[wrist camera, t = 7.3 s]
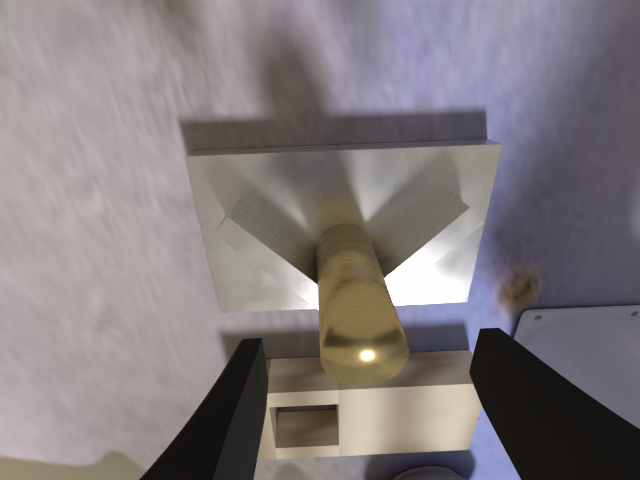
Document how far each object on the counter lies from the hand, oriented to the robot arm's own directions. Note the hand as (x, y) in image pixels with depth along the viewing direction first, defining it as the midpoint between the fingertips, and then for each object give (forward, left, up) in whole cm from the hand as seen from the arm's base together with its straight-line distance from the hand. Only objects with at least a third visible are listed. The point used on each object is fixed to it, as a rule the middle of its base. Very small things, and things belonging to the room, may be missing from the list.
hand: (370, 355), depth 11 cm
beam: (-1, +15, -10) cm, 18 cm away
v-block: (0, 0, -10) cm, 10 cm away
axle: (0, +1, -8) cm, 9 cm away
